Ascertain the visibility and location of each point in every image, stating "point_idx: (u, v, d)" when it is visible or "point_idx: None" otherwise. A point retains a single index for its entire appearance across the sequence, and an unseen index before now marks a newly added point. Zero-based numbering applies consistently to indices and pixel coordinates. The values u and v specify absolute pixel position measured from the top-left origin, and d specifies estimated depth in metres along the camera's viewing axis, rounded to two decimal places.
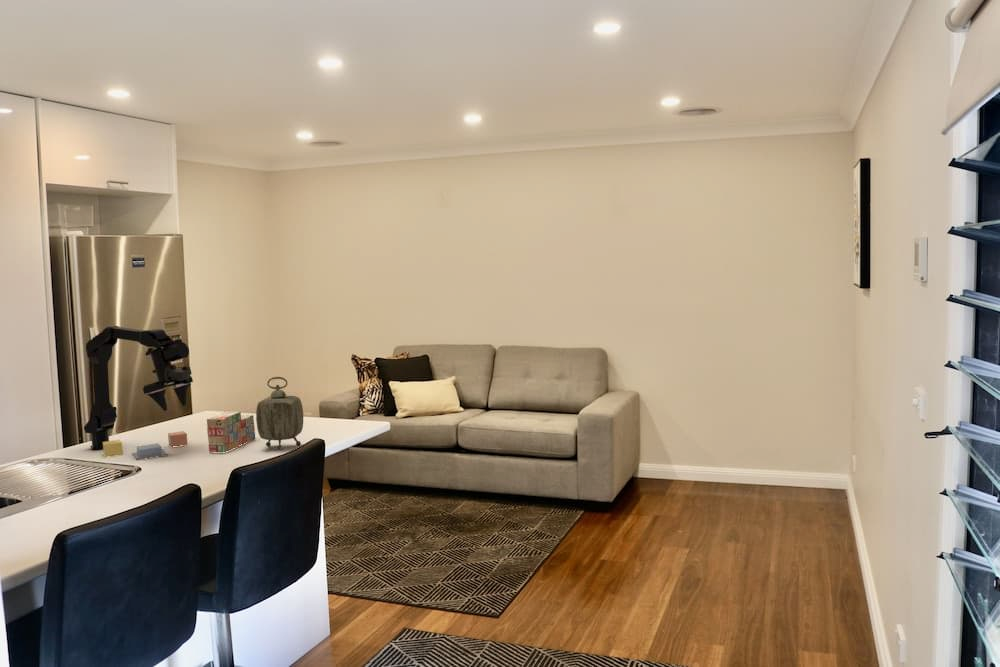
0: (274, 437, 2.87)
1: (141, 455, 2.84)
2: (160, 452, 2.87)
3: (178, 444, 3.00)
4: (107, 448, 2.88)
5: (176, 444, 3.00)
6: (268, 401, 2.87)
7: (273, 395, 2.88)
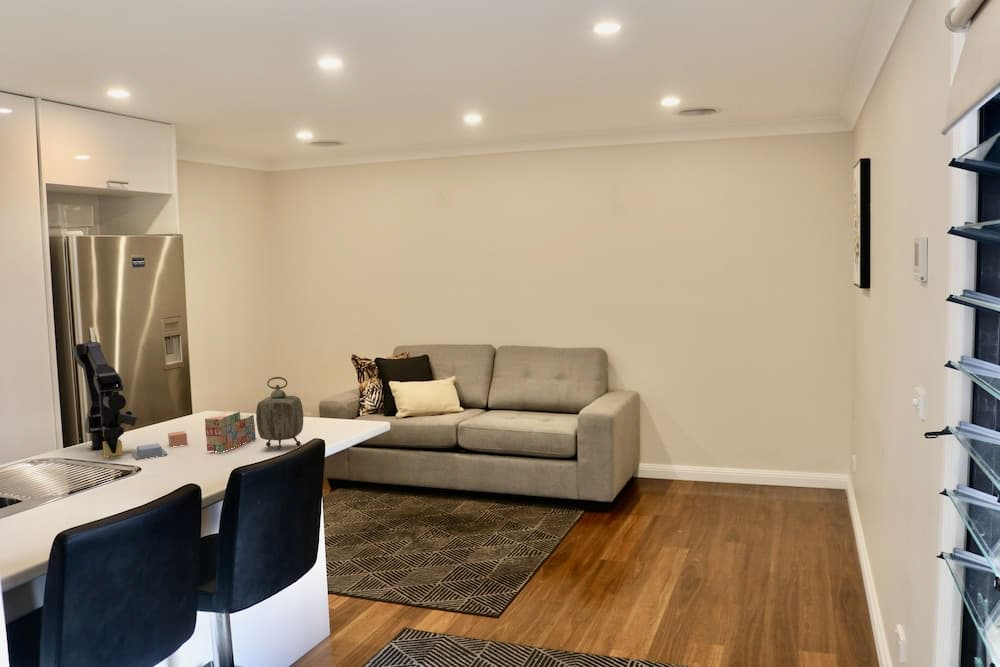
0: (274, 437, 2.87)
1: (141, 455, 2.84)
2: (160, 452, 2.87)
3: (178, 444, 3.00)
4: (106, 447, 2.88)
5: (176, 444, 3.00)
6: (268, 401, 2.87)
7: (273, 395, 2.88)
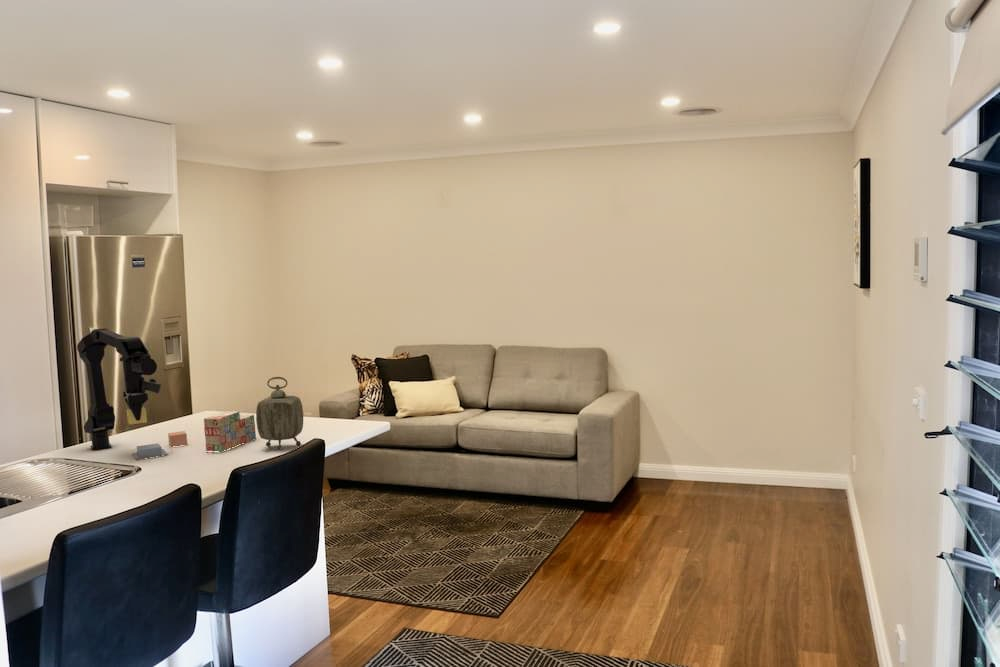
0: (274, 437, 2.87)
1: (141, 455, 2.84)
2: (160, 452, 2.87)
3: (178, 444, 3.00)
4: (131, 414, 2.85)
5: (176, 444, 3.00)
6: (268, 401, 2.87)
7: (273, 395, 2.88)
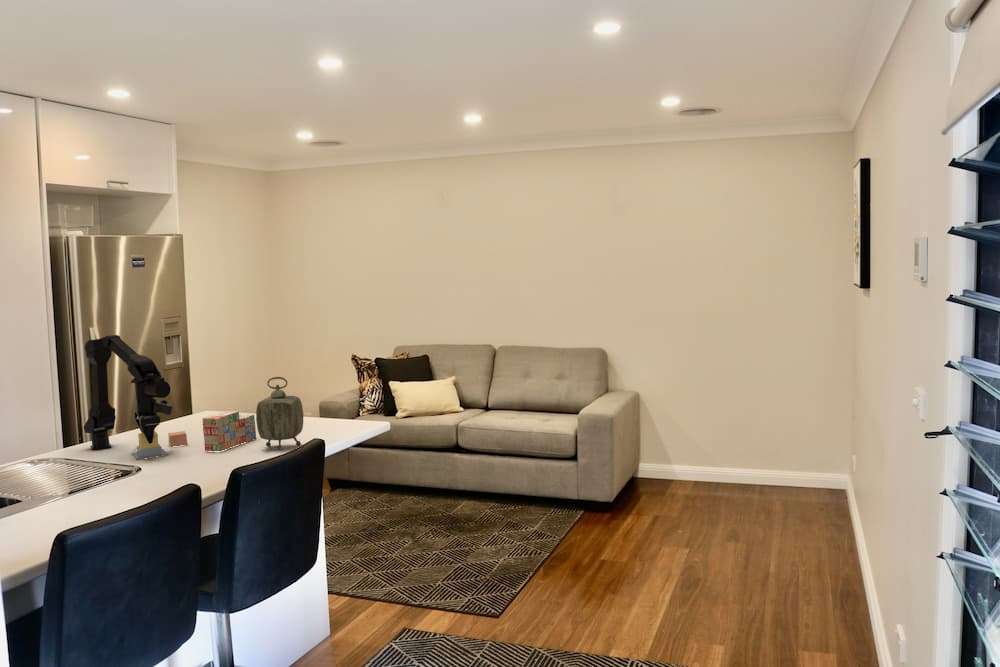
0: (274, 437, 2.87)
1: (141, 455, 2.84)
2: (160, 452, 2.87)
3: (178, 444, 3.00)
4: (142, 439, 2.85)
5: (176, 444, 3.00)
6: (268, 401, 2.87)
7: (273, 395, 2.88)
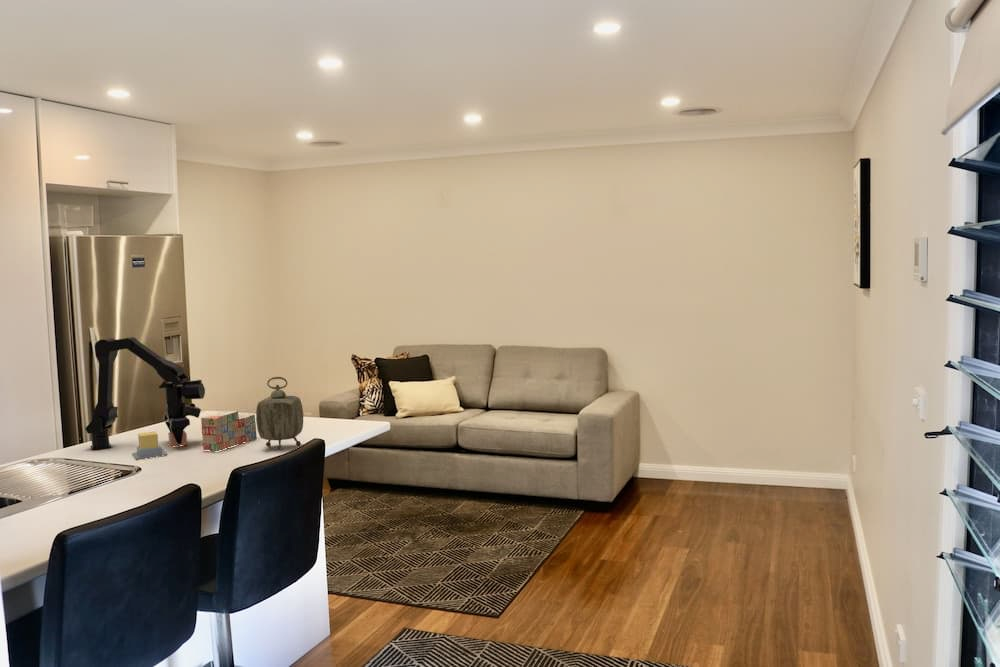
0: (274, 437, 2.87)
1: (141, 455, 2.84)
2: (160, 452, 2.87)
3: None
4: (142, 439, 2.85)
5: (176, 444, 3.00)
6: (268, 401, 2.87)
7: (273, 395, 2.88)
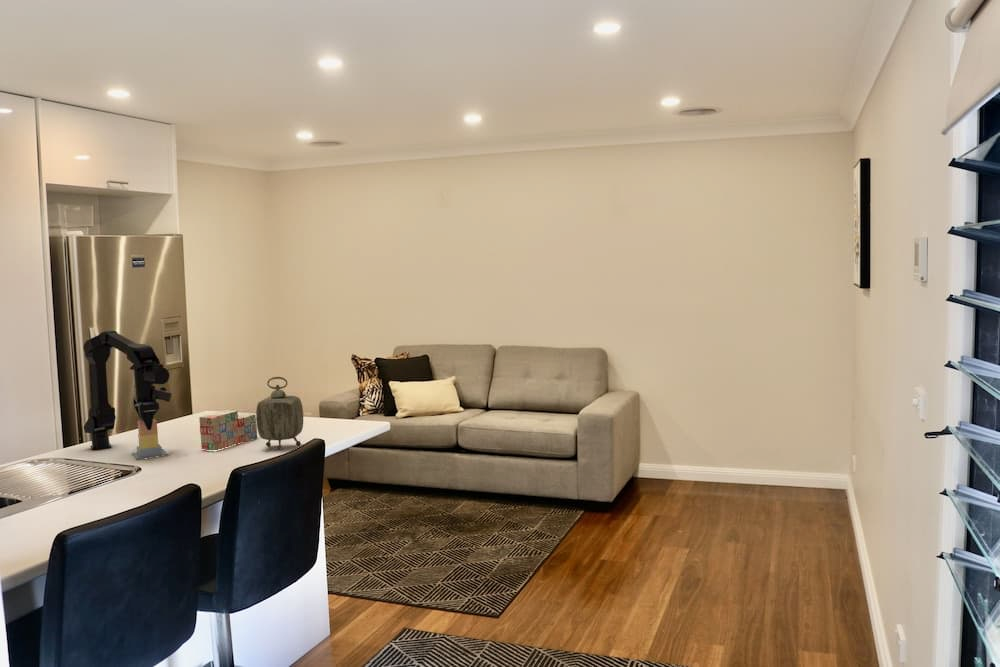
0: (274, 437, 2.87)
1: (141, 455, 2.84)
2: (160, 452, 2.87)
3: (148, 432, 2.86)
4: (142, 439, 2.85)
5: (145, 432, 2.85)
6: (268, 401, 2.87)
7: (273, 395, 2.88)
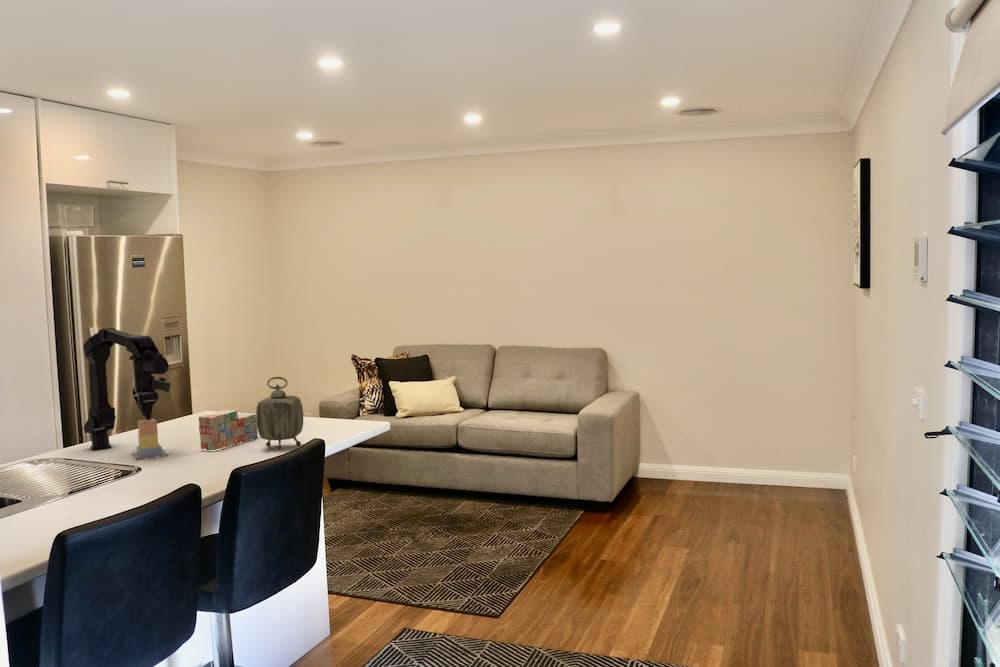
0: (274, 437, 2.87)
1: (141, 455, 2.84)
2: (160, 452, 2.87)
3: (148, 432, 2.86)
4: (142, 439, 2.85)
5: (145, 432, 2.85)
6: (268, 401, 2.87)
7: (273, 395, 2.88)
